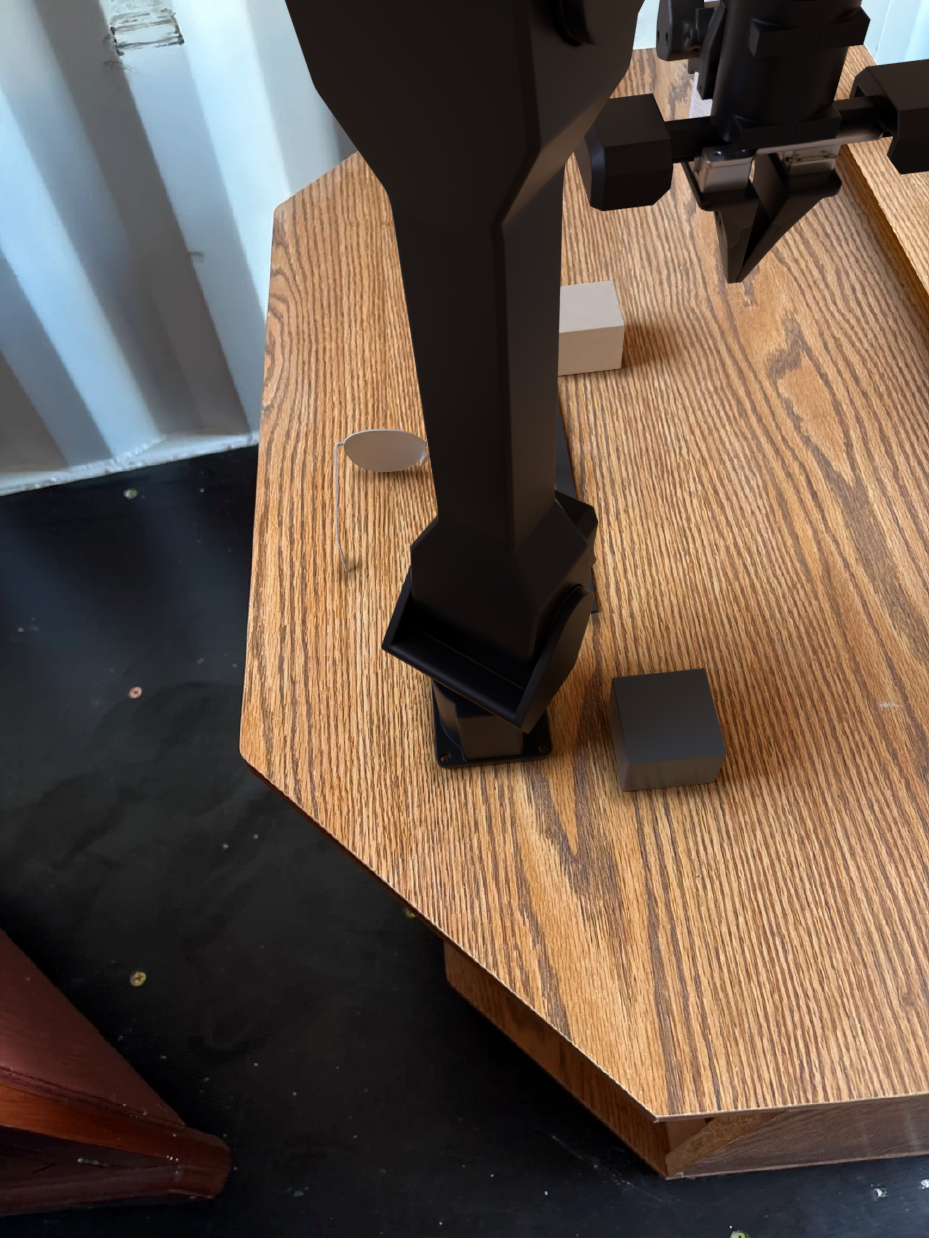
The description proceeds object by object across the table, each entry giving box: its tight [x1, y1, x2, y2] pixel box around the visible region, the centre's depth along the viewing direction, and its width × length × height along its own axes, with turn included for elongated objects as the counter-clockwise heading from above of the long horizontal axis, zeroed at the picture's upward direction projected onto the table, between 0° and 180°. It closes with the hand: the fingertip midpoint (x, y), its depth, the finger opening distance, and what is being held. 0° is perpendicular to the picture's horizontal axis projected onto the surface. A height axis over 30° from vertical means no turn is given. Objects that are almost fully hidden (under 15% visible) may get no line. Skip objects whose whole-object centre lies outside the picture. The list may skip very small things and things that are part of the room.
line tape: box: [555, 396, 599, 613], centre depth 65 cm, size 50×1×1 cm, turn 4°
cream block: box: [558, 279, 626, 377], centre depth 63 cm, size 5×5×4 cm
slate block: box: [606, 667, 728, 792], centre depth 46 cm, size 5×5×4 cm
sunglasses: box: [333, 428, 430, 572], centre depth 55 cm, size 14×8×5 cm, turn 90°
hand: (732, 278), depth 51 cm, fingers closed
